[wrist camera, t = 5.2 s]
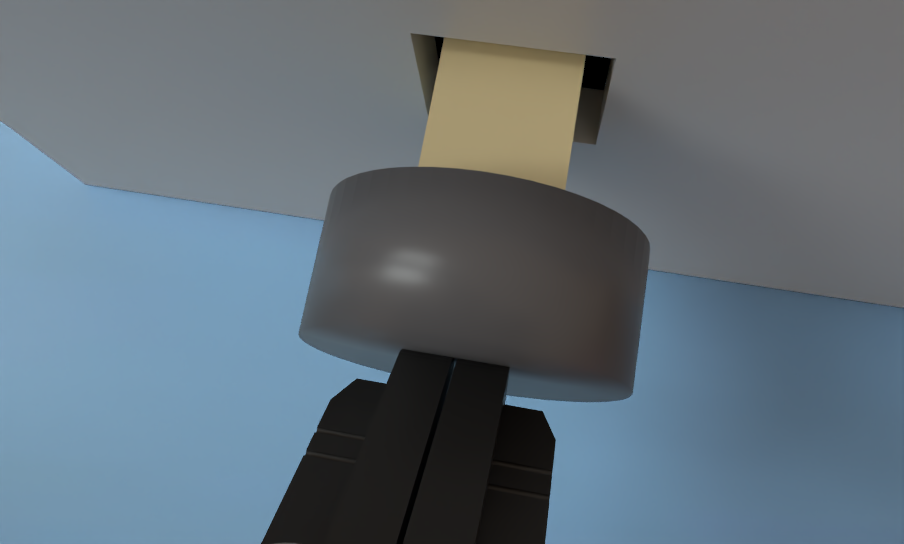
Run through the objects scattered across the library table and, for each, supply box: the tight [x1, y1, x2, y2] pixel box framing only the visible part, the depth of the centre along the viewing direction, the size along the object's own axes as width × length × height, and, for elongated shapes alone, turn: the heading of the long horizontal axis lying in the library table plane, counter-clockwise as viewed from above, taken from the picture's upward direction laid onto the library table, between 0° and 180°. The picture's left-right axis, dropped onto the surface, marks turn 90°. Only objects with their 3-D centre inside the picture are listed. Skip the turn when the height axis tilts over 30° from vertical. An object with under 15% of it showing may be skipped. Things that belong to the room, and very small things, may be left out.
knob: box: [299, 37, 650, 402], centre depth 13 cm, size 5×8×5 cm, turn 170°
